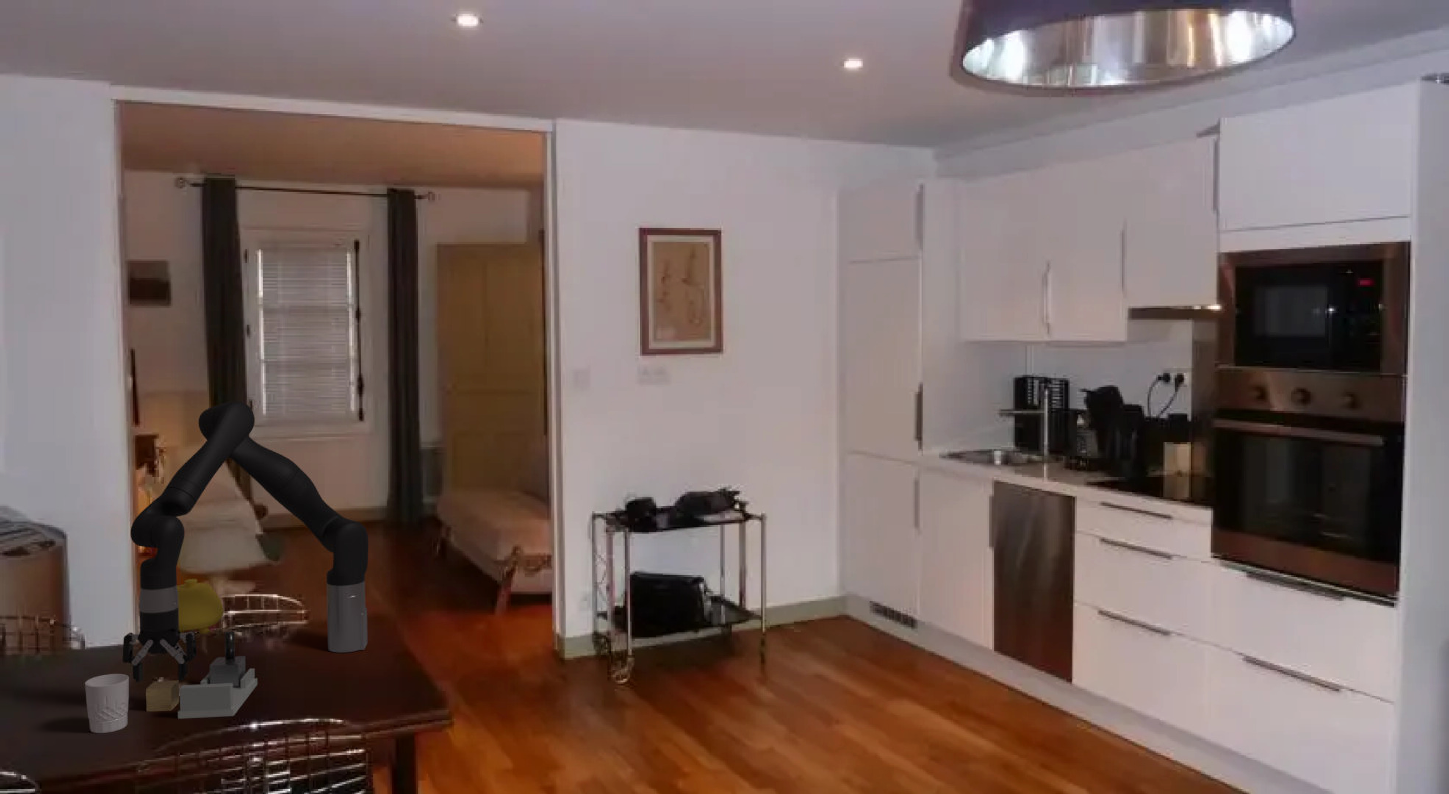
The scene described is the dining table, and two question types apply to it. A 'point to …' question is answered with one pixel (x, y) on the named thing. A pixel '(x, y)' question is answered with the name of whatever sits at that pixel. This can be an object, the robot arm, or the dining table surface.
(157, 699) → the tan cube
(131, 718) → the dining table surface
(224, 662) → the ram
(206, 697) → the press
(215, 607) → the teapot
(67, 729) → the dining table surface
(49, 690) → the dining table surface
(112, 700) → the white cup
